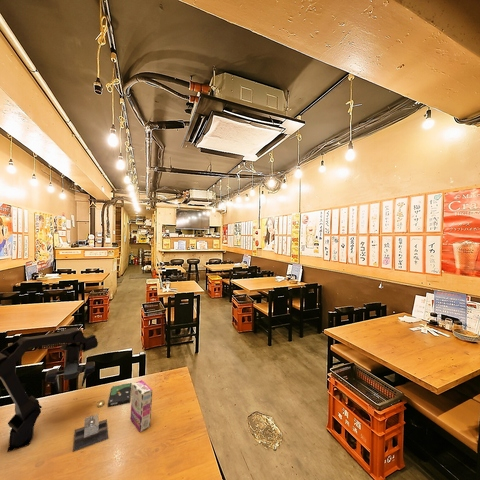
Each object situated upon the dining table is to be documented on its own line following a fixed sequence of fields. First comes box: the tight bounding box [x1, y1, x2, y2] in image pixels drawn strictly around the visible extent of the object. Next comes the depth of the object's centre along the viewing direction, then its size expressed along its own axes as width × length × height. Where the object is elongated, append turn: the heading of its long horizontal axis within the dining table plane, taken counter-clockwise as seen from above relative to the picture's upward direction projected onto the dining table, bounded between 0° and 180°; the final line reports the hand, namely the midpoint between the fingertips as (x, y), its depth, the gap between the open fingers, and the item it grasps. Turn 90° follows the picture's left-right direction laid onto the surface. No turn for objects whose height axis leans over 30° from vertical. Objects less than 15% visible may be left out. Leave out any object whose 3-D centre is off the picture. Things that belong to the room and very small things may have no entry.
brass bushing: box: [96, 400, 106, 408], centre depth 115 cm, size 3×3×2 cm
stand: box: [72, 419, 109, 453], centre depth 97 cm, size 12×11×2 cm
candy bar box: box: [130, 379, 153, 433], centre depth 105 cm, size 11×5×16 cm, turn 47°
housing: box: [83, 413, 100, 438], centre depth 97 cm, size 7×5×4 cm
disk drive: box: [107, 382, 133, 408], centre depth 122 cm, size 10×3×15 cm
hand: (70, 389), depth 108 cm, fingers open, 9 cm apart
